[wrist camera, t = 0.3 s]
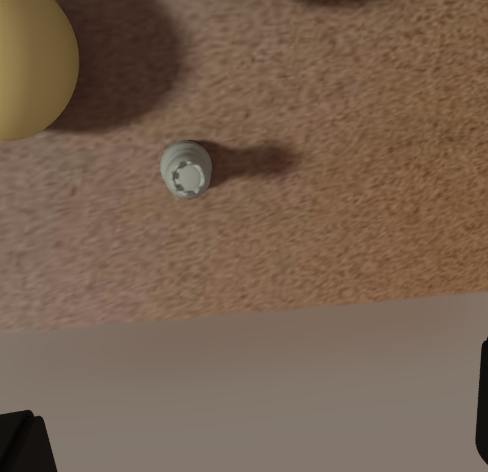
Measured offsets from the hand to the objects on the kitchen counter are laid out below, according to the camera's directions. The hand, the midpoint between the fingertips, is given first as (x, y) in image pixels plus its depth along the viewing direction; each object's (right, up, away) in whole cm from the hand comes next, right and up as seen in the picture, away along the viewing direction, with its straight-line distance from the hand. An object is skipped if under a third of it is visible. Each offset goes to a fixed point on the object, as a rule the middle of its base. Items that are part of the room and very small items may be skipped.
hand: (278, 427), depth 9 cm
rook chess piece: (-6, +10, +29) cm, 31 cm away
